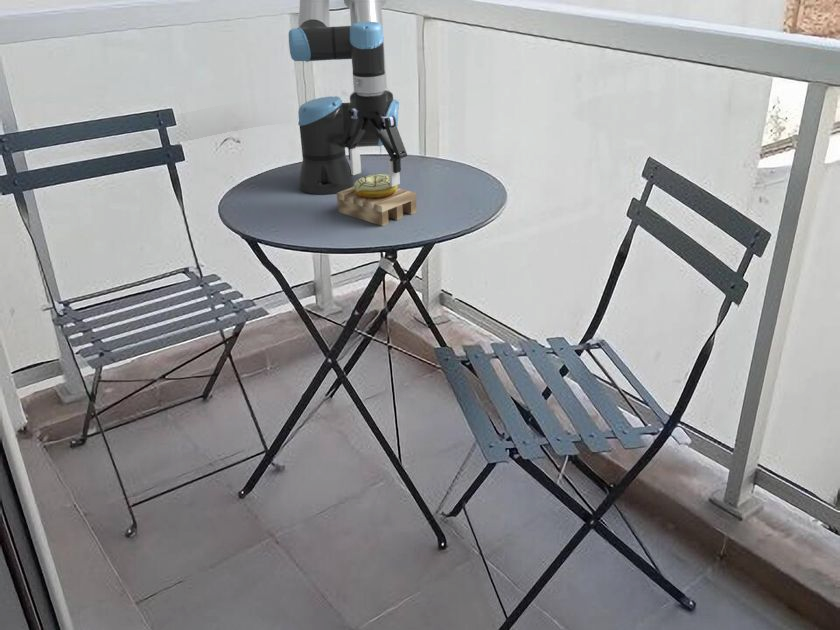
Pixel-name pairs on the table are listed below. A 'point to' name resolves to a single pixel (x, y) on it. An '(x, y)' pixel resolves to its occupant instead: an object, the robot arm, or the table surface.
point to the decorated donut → (374, 186)
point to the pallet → (377, 205)
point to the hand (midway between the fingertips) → (375, 179)
